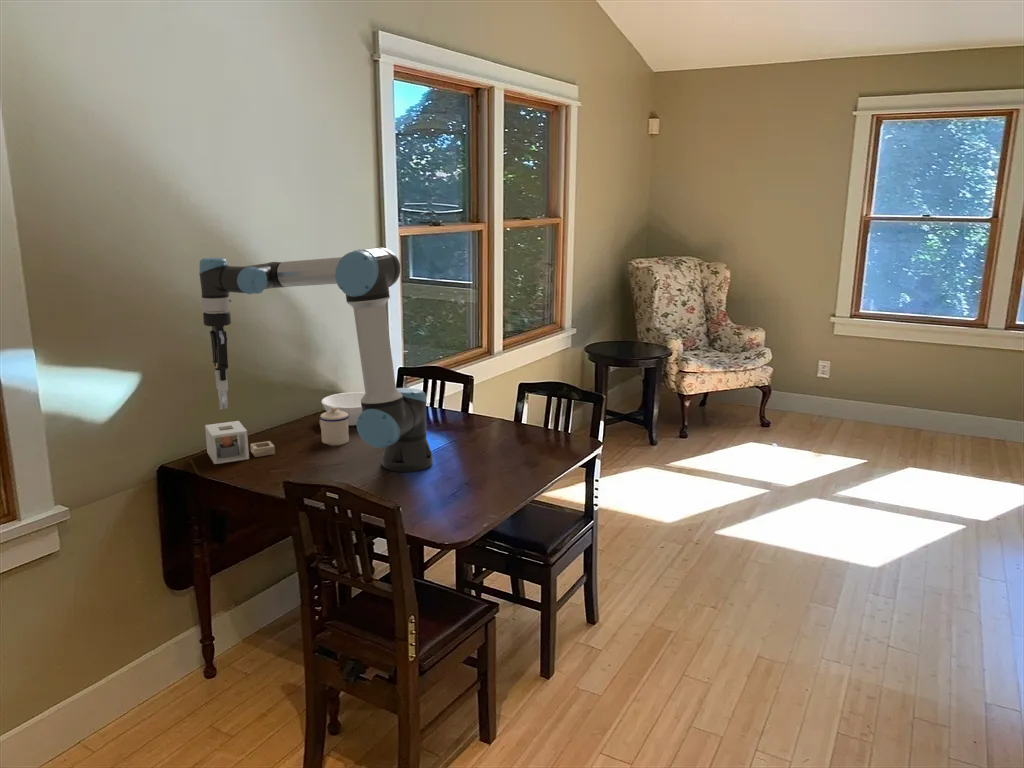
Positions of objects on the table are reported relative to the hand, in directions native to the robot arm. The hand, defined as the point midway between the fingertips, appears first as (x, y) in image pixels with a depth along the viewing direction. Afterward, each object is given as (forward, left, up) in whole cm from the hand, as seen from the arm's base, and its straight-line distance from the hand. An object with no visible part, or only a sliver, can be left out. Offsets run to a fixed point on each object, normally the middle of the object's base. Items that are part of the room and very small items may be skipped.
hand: (222, 389), depth 236 cm
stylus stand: (-2, -10, -22) cm, 24 cm away
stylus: (0, 0, -6) cm, 6 cm away
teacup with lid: (+1, -33, -22) cm, 40 cm away
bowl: (+19, -46, -22) cm, 54 cm away
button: (0, 0, -18) cm, 18 cm away
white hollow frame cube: (0, 0, -22) cm, 22 cm away
